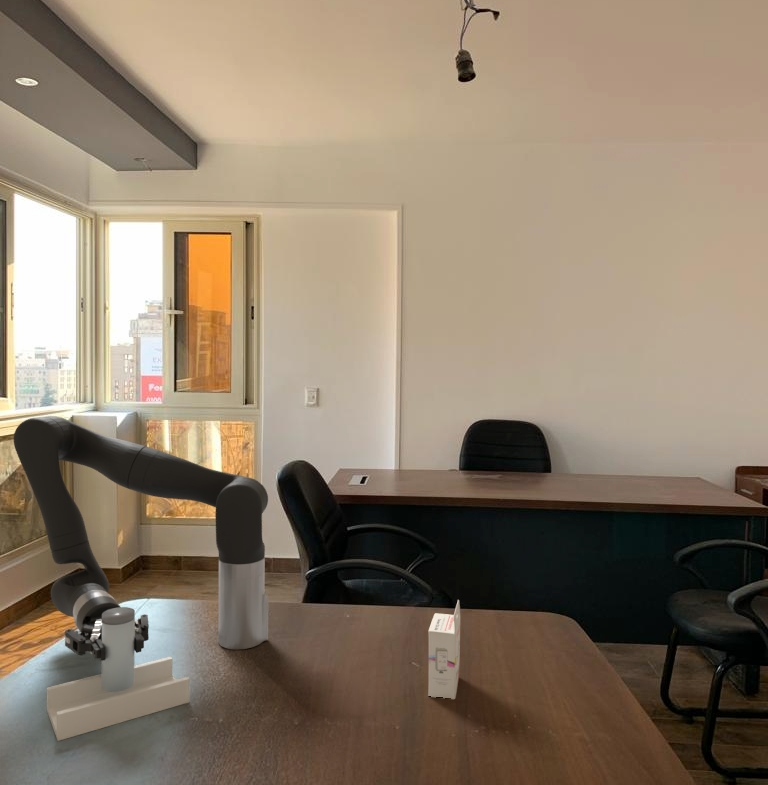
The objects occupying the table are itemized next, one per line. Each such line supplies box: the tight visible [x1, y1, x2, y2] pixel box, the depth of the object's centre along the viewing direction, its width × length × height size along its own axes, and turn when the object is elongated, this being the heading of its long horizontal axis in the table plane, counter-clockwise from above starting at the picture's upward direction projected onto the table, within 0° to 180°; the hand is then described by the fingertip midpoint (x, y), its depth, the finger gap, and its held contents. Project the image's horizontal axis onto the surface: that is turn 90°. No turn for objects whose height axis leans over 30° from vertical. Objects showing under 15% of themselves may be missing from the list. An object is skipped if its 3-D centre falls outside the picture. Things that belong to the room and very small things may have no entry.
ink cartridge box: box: [427, 599, 461, 700], centre depth 115 cm, size 9×5×15 cm, turn 169°
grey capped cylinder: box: [101, 606, 136, 692], centre depth 106 cm, size 5×5×12 cm
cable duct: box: [46, 656, 190, 742], centre depth 107 cm, size 20×10×4 cm, turn 126°
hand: (121, 650), depth 105 cm, fingers closed on grey capped cylinder, 5 cm apart
